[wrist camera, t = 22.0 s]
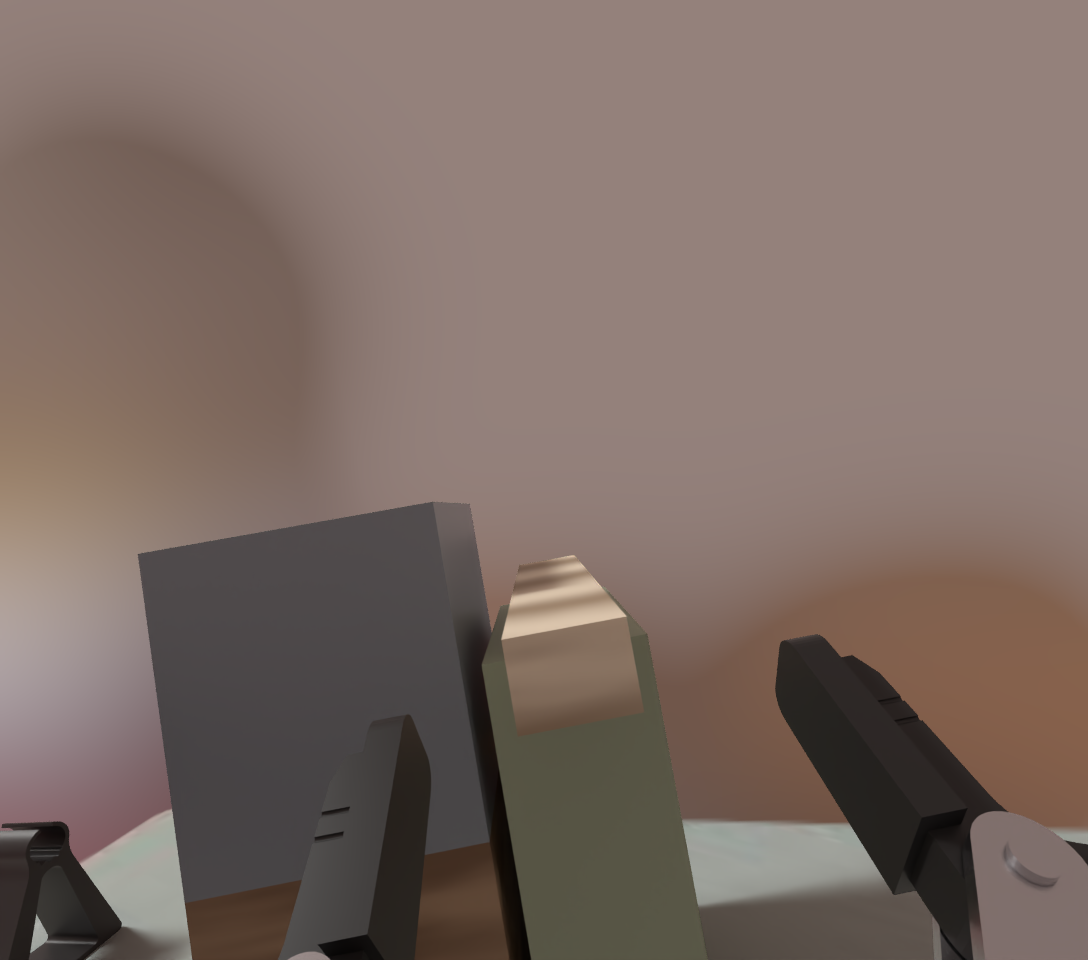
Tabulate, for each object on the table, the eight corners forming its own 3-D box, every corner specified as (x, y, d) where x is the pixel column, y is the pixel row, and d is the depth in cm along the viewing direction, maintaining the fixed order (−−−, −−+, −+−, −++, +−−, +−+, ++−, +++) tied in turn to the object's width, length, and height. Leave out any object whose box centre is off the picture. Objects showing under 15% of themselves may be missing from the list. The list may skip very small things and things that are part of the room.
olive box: (745, 1163, 22) (647, 633, 24) (572, 1202, 22) (481, 664, 23) (663, 910, 36) (604, 586, 38) (556, 932, 36) (500, 605, 37)
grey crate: (489, 841, 23) (433, 501, 24) (184, 903, 22) (137, 554, 23) (505, 715, 37) (469, 504, 38) (318, 751, 36) (286, 536, 37)
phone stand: (73, 925, 46) (57, 795, 47) (122, 927, 45) (105, 793, 45) (-65, 1029, 37) (-82, 867, 38) (-9, 1034, 36) (-28, 866, 37)
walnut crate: (550, 1207, 22) (489, 841, 23) (235, 1278, 22) (184, 903, 22) (543, 935, 36) (505, 715, 37) (352, 975, 36) (318, 751, 36)
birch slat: (644, 712, 15) (626, 616, 16) (517, 736, 15) (501, 639, 15) (581, 596, 35) (574, 555, 35) (526, 606, 35) (519, 564, 35)
